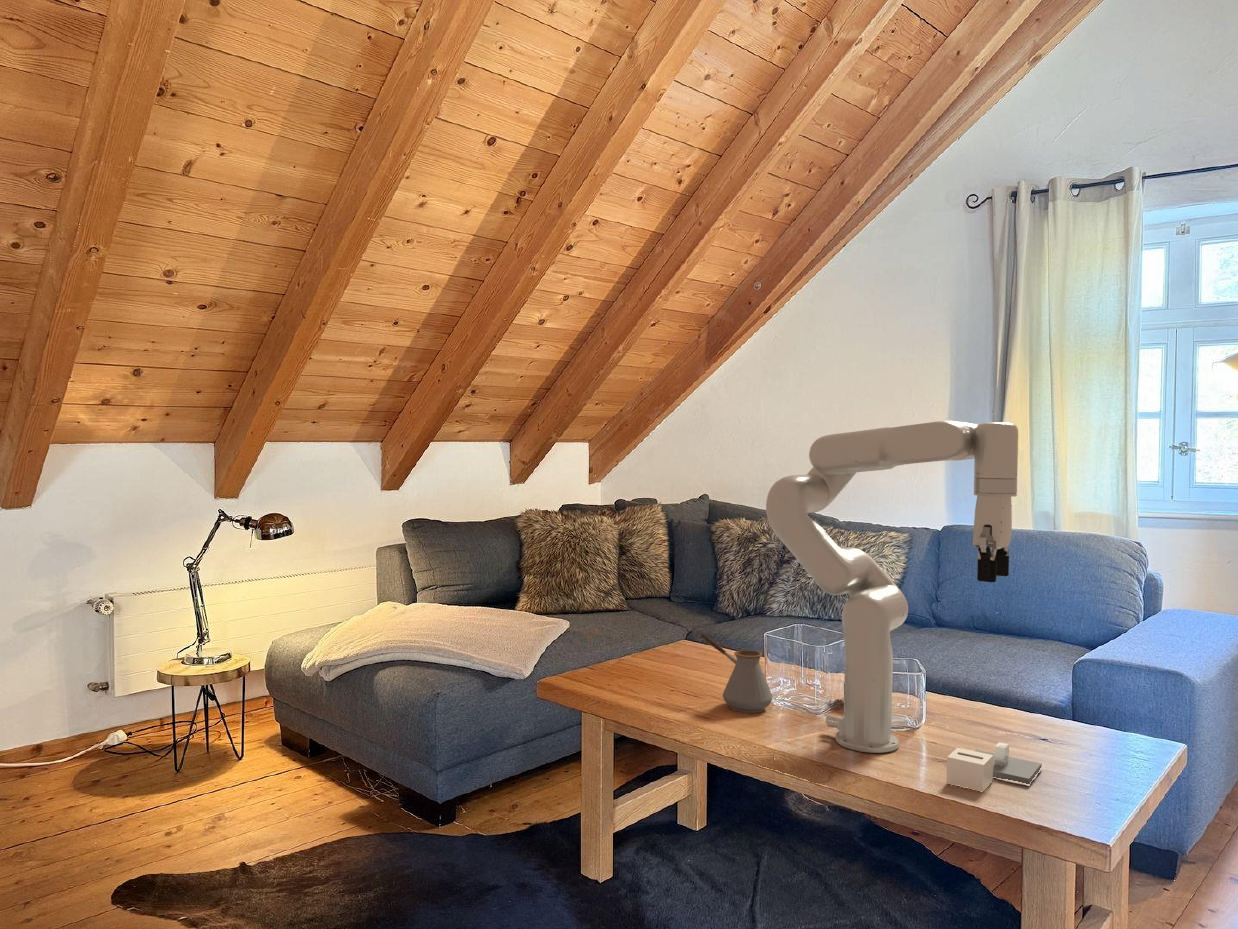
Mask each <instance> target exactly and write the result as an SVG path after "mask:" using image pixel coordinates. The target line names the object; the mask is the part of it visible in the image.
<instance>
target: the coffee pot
mask: <svg viewBox="0 0 1238 929" xmlns="http://www.w3.org/2000/svg"><path fill="white" fill-rule="evenodd" d="M700 636H701V637H702V638H701V639H699V637H700ZM697 639H698V641H703V640H705V641H706V642H708V643H709V644H710V645H711V647H712V648H714V649H715V650H717V651H718V652H720V653H721V654H722V655H724V656H725V657H726V658H728V659H729V660H730V661H731V662H733V664H734V668H733V670H732V672H731V674H730V676H729V679H728V681H727V684H726V685H725V688H724V690H723V693H722V698H723V700H724V702H725V703H726V704H727V705H728V707H729V706H730V709H731V710H732V711H735V712H738V711H739V713H744V712H748V714H754V713H756V712H757V713H760V711H761V712H763V711H764V710H765V709H766V708H767V707H769V705H770V704H771V703H772V700H773V695H772V694H773V693H772V692H771V689H770V687H769V683H768V682H767V679H766V677H765V674H764V672H763V669H762V666H761V664H760V660H761V657H762V656H763V653H762V652H761V651H758V650H749V649H745V650H744V649H742V650H740V649H739V650H736V651H734V656H735V657H736V658H735V657H733V656H732V655H731V654H729V653H728V652H727V651H726V650H725V649H724V648H723V647H722V646H721V645H720V644H718V643H717V642H716V641H715V640H713V639H711V638H710V636H708V635H706V634H705V633H703V632H701V633H700V634H698V636H697Z"/></svg>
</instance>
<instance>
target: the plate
mask: <svg viewBox="0 0 1238 929" xmlns="http://www.w3.org/2000/svg"><path fill="white" fill-rule="evenodd" d="M974 751H976V752H981V753H985V754H990V755H993V777H996V778H1001V779H1008V780H1013V781H1018V782H1022V783H1026V784H1030V782H1031V781H1032V779H1033V778H1034V777H1035V775H1036V774H1037V773H1038V772H1039V770H1040V768H1041V767H1043V766H1042V763H1041V762H1036V761H1032V760H1027V759H1022V758H1018V757H1012V756H1009V762H1008V764H1007V765H1006V766H1005V767H1003V766H998V765H994V760H995V752H990V751H984V750H981V749H975V750H974Z"/></svg>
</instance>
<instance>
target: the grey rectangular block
mask: <svg viewBox="0 0 1238 929" xmlns="http://www.w3.org/2000/svg"><path fill="white" fill-rule="evenodd" d="M1009 752H1010V744H1009V743H1006V742H1000V741H999V742H998V743H997V744H995V746H994V753H995V760H994V765H998V766H1003V767H1005V766H1006V765H1007V764H1008V762H1009V757H1010V753H1009Z"/></svg>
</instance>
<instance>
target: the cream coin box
mask: <svg viewBox="0 0 1238 929" xmlns="http://www.w3.org/2000/svg"><path fill="white" fill-rule="evenodd" d="M945 779H946V780H945V781H946V782H945V783H948V784H953V785H960V786H963V787H968V788H971V789H975V790H979V791H984V790H985V788H986V787H987V786H988V785H989V784H990V783H991V782H992V780H993V781H994V779H993V755H990V754H985V753H981V752H976V751H975V750H971V749H966V748H962V747H956V748H955V749H954V750H953V751H952V752H951V753H950V754H948V755H947V756H946V778H945ZM992 783H993V782H992ZM948 784H947V785H948ZM985 791H986V790H985ZM985 791H984V792H985Z"/></svg>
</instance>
